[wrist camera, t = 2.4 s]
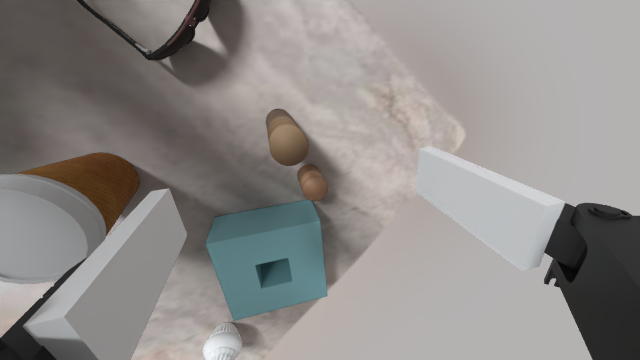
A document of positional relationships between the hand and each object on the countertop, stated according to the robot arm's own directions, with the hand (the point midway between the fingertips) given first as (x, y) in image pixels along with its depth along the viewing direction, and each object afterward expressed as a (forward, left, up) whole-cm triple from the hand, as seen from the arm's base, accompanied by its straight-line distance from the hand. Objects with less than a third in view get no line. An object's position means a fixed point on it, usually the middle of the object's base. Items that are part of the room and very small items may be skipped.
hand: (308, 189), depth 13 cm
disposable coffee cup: (+4, -21, -20) cm, 29 cm away
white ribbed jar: (+35, -15, -20) cm, 43 cm away
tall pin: (0, 0, -20) cm, 20 cm away
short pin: (+8, +3, -20) cm, 21 cm away
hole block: (+19, -4, -20) cm, 28 cm away
